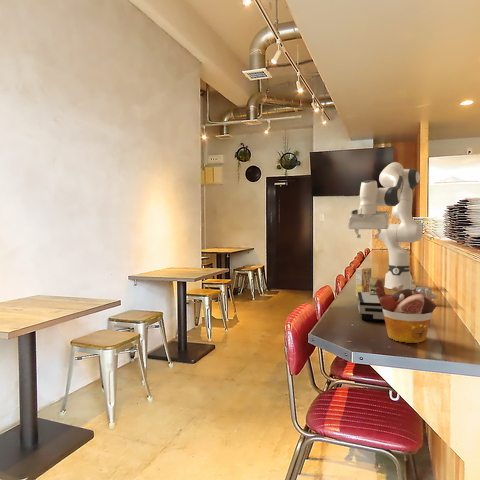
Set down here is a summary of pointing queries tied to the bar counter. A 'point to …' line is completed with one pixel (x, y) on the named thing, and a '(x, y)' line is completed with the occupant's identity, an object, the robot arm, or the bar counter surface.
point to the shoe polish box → (372, 285)
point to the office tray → (370, 306)
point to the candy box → (362, 280)
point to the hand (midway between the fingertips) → (367, 238)
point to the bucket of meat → (406, 313)
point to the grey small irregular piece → (423, 290)
